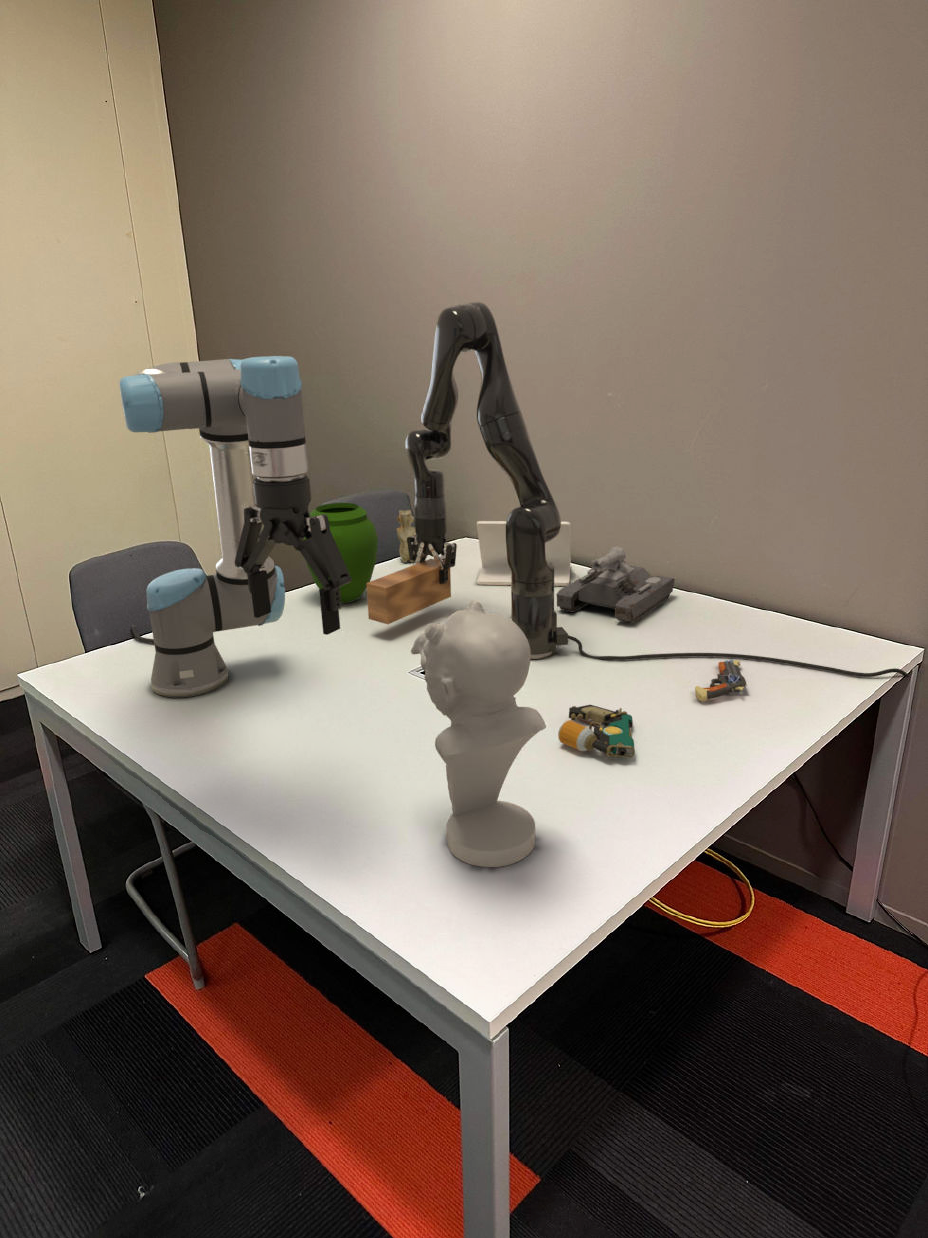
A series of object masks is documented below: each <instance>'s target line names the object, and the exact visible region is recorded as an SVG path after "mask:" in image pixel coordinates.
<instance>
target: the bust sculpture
mask: <svg viewBox="0 0 928 1238" xmlns="http://www.w3.org/2000/svg"><path fill="white" fill-rule="evenodd" d="M530 653H531V652H530V646H529V643H528V640H527V638H526V636H525V634H524V633H523V632H522V630H521V629H520V628H519V627H518V626H517V625H516V624H515V623H514V622H513V621H512V620H511V618H508V617H507V616H504V615H503V614H502V615H501V614H496V613H485V609H484V607H483V605H482V603H481V602H480V601H478V600H473V599H472V600H470V601H469V603H468V605H467V607H466V609H460V610H457V611H455V612H453V613H451V615H449V616H448V617H447V618H446V619H445V620H444V622H442V624H441V623H435V622H430V623H428V624H427V625H426V626H425V628H424V632H423V633H421V634H419V635H418V636H417V637H416V638H415V640H414V642H413V645H412V647H411V649H410V654H412V655H420V667H421V669H422V670H423V672H424V681H425V682H426V690H427V693H428V696H429V698H430V701H431V702H432V704H434V706H435V708H436V710H438V711H439V712H440V713H441V714H442V716H446V717H447V718H448V719H449V720H450V726H448V727H446V728H445V729H443V730H442V731H441V732H440V733H439V734H438V735H436V738H435V741H434V748H435V749H436V752H437V753H438V755H439V757H440V758H441V760H442V761H443V762H444V763H445V771H446V781H447V790H448V796H449V800H450V803H451V810H452V813H451V814H450V815H449V817H448V819H447V822H446V844H447V847H448V849H449V851H450V852H451V854H452V855H453V856H454V857H456V858H457V859H459V860H460V861H462V862H463V863H466V864H469V865H471V866H476V867H483V868H498V867H505V866H509V865H512V864H517V862H520V861H521V860H523V859H525V858H527V856H528V855H530V854H531V852H532V851H533V849H535V848H534V847H535V845H536V822H535V821H536V820H535V819H534V817H533V816H532V814H531V813H530V812H529V811H528V810H526V809H525V808H524V807H522V806H520V805H517V804H515V803H513V802H509V801H504V800H499V796H500V793H501V790H502V788H503V785H504V783H505V780H506V778H507V776H508V773H509V771H510V769H511V768H512V765H513V763H514V761H515V760H516V759H517V756H518V755H519V753H520V752H521V750H522V749H523V748H524V747H525V745H526V744H527V743H528V742H529V741H530V740H531V739H532V738H533V737H535V735H537V734H538V733H539V732H541V731H544V730H545V729H546V728H547V725H546V723H545V720H544V718H543V717H542V714H541V713H540V712H539V711H538V710H537V709H535V708H533V707H530V706H518V705H517V701H516V699H517V698H516V696H515V695H516V694H517V693H519V691H521V689H522V688H523V686H524V684H525V683H526V680H527V678H528V675H529V669H530V666H531V659H530V656H531V655H530Z"/></svg>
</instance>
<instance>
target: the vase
mask: <svg viewBox="0 0 928 1238" xmlns="http://www.w3.org/2000/svg"><path fill="white" fill-rule="evenodd" d="M309 514H310V516H319V515H322V514H326V515H327V516H328V520H329V526H330V531H331V533H332V536H333V538H334V540H335V542H336V545H337V547H338V549H339V551H340V554H341V556H342V558H343V560H344V563H345V565H346V567H347V569H348V572H349V574H350V576H351V582H350V583H348V584H345V585H343V586H341V587H340V595H341V604H349V603H352V602H355V601H357V600H358V599H360V598H361V597H363V594H365V592H366V591H367V585H366V583H368V582H371V581H372V578H373V573H374V570H375V566H376V562H377V553H378V542H379V537H378V533H377V530H376V527H375V524H374V523H373V522H372V520H370V519H369V518H368V511H367V510H366V509H364V508H363V507H362V506H361V505H359V504H356V503H352V502H331V503H326V504H321V505H318V506H316V507H315V508H314V509H313V510H312V511H311V512H309ZM303 540H306V537H305V538H304V539H303ZM305 562H306V563H305V564H306V567H307V569H308V571H309V573H310V575H311V577H312V579H313V582H314V584H315V585H316V587H317V588H318V590H319V589H322V588H323V585H322V584H321V582H320V581H319V579H318V578H317V576H316V575H315V573H314V572H313V570H312V569H311V567H310V566H309V564H308V563H307V561H306V560H305ZM328 579H329V580H331V579H330V578H329V577H328Z"/></svg>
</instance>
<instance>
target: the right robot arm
mask: <svg viewBox="0 0 928 1238" xmlns="http://www.w3.org/2000/svg"><path fill="white" fill-rule="evenodd" d="M432 347H433V348H432V356H431V369H430V377H429V383H428V388H427V393H426V396H425V399H424V404H423V406H422V410H421V413H420V421H421V424H422V426H424V428H421V429H414V430H411V431H409V433H408V434H407V435H406V438H405V441H404V448H405V451H406V452H405V453H406V455H407V458H408V461H409V464H410V467H411V472H412V475H413V480H414V503H413V505H414V507H413V509H414V510H413V511H414V527H415V532H416V535H413V536H410V537H407V544H408V551H409V558H410V560H411V561H412V562H413V563H414V564H418V563H421V562H423V561H426V560H427V557H428V556H430V557H432V558H433V559H434V560H435V561H436V562H437V563H438V566H439V568H440V570H439V583H440V584H442V585H443V584H445V583H447V581H448V569H449V568H450V569H451V568H453V567H455V566H456V561H457V559H456V558H457V548H458V545H457V543H456V542H453V543H451V542H448V541H447V539H446V534H447V531H448V530H447V528H448V527H447V525H448V524H447V502H446V493H445V475H444V473H443V471H442V470H440V469H438V468H437V469H436V468H429V467H428V466H427V464H426V461H430V460H440V459H444V458H446V456H448V455H449V454H450V452H451V449H452V422H453V419H454V415H455V413H456V409H457V406H458V404H459V388H458V384H457V381H456V379H455V375H454V367H455V366H456V365H455V364H456V363H457V360H458V358H459V357H460V354H466V353H470V352H474V354H475V358H476V360H477V365H478V368H479V373H480V386H479V393H478V399H477V405H476V422H477V425H478V428H479V432H480V435H481V438H482V440H483V442H484V446H485V448H486V450H487V452H488V453H489V455H490V456H491V458H492V459H493V460H494V462H495V463H496V464H497V465H498V466H499V468H500V469H501V470H502V471H503V472H504V473H505V475H506V476H507V477H508V479H509V480H510V482H511V484H512V485H513V488H514V490H515V493H516V496H517V498H518V502H519V506H517V507H515V508H513V509H512V510H511V511H510V512H509V513H508V515H507V517H506V520H505V521H506V550H507V562H508V565H509V568H510V570H511V585H510V588H511V589H510V597H511V599H510V603H511V604H510V606H511V607H510V609H511V610H510V615H511V617H510V619H511V620H512V621H513V622H514V623H515V624H516V625H517V626H518V627H519V628H520V629H521V630H522V632H523V633H524V634H525V636H526V638H527V640H528V643H529V646H530V652H531V653H530V655H531V656H530V660H540V659H545V658H548V657H550V656H552V655H557V654H558V653H557V650H558V649H557V648H558V647H557V646H569V640H570V641H573V642H575V643H576V644H577V645H578V652H579V654H580V655H582V657H585V658H589V659H593V660H600V661H606V660H607V661H608V660H609V661H629V660H639V659H658V658H659V659H660V658H677V657H678V658H680V657H681V658H683V657H684V658H685V657H686V658H689V657H710V658H713V657H714V658H715V657H716V658H736V659H747V660H756V661H763V662H764V661H766V662H771V663H779V664H786V665H792V666H799V667H803V668H810V669H816V670H821V671H827V672H833V673H837V674H843V675H847V676H853V677H862V678H873V677H880V676H882V675H886V674H892V673H897V674H900V675H902V676H903V677H905V678H910V675H909V674H908V673H907V672H906V671H905V670H902V669H900V668H896V667H895V668H888V669H883V670H880V671H875V672H860V671H859V672H857V671H851V670H847V669H841V668H836V667H831V666H826V665H820V664H814V663H808V662H801V661H796V660H795V661H794V660H789V659H783V658H778V657H777V658H776V657H770V656H769V657H768V656H767V657H766V656H761V655H752V654H739V653H724V652H671V653H669V652H667V653H649V654H648V653H647V654H636V655H623V656H622V655H598V656H597V655H591V654H589V653H586V652H585V651H584V650H583V644H582V641H580V639H578V638H577V637H574V636H571V635H569V633H568V632H567V631H566V630H565V629H564V628H563V626H558V613H557V612H556V611H555V586H554V565H553V564H552V563H551V562H550V561H548V560H546V555H545V543H547V542H549V541H551V540H553V539H554V538H555V537H556V536H557V535H558V533H559V531H560V527H561V522H562V519H561V514H560V511H559V509H558V506H557V504H556V502H555V500H554V497H553V495H552V493H551V491H550V489H549V488H550V487H549V486H548V484H547V482H546V480H545V477H544V475H543V472H542V470H541V467H540V464H539V461H538V458H537V455H536V453H535V450H534V447H533V444H532V442H531V438H530V434H529V431H528V428H527V424H526V422H525V419H524V416H523V413H522V410H521V408H520V405H519V403H518V400H517V397H516V393H515V391H514V387H513V384H512V380H511V377H510V374H509V371H508V368H507V363H506V359H505V356H504V352H503V347H502V343H501V339H500V335H499V330H498V327H497V323H496V319H495V317H494V315H493V313H492V310H491V309H490V308H489V307H488V305H486V303H484V302H481V301H472V302H467V303H461V304H455V305H452V306H448V307H446V308H444V309H443V310H442V311H441V312H440V313H439V315H438V317H437V320H436V324H435V330H434V336H433V346H432ZM413 551H414V552H413ZM442 561H443V562H442ZM443 563H444V564H443Z"/></svg>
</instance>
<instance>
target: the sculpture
mask: <svg viewBox="0 0 928 1238" xmlns="http://www.w3.org/2000/svg"><path fill="white" fill-rule="evenodd" d="M398 511H399V515H398V517H396V521H397V522H398V523H399V525H400V526H399V527H397V528H396V534H397V538H398V541H399V542H400V545H399V548H398V549H399V557H400V558H401V561H402V563H407V562H408V561H409V562H410V563H411V562H413V561H411V560H410V558H409V551H408V544H407V537H410V536H413V535H416V536H417V534H416V532H415V526H412V524H413V523H415V516H413V515H412V510H411V509H406V510H404V509H403V510H402V509H400V510H398ZM413 552H414V551H413Z"/></svg>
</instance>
